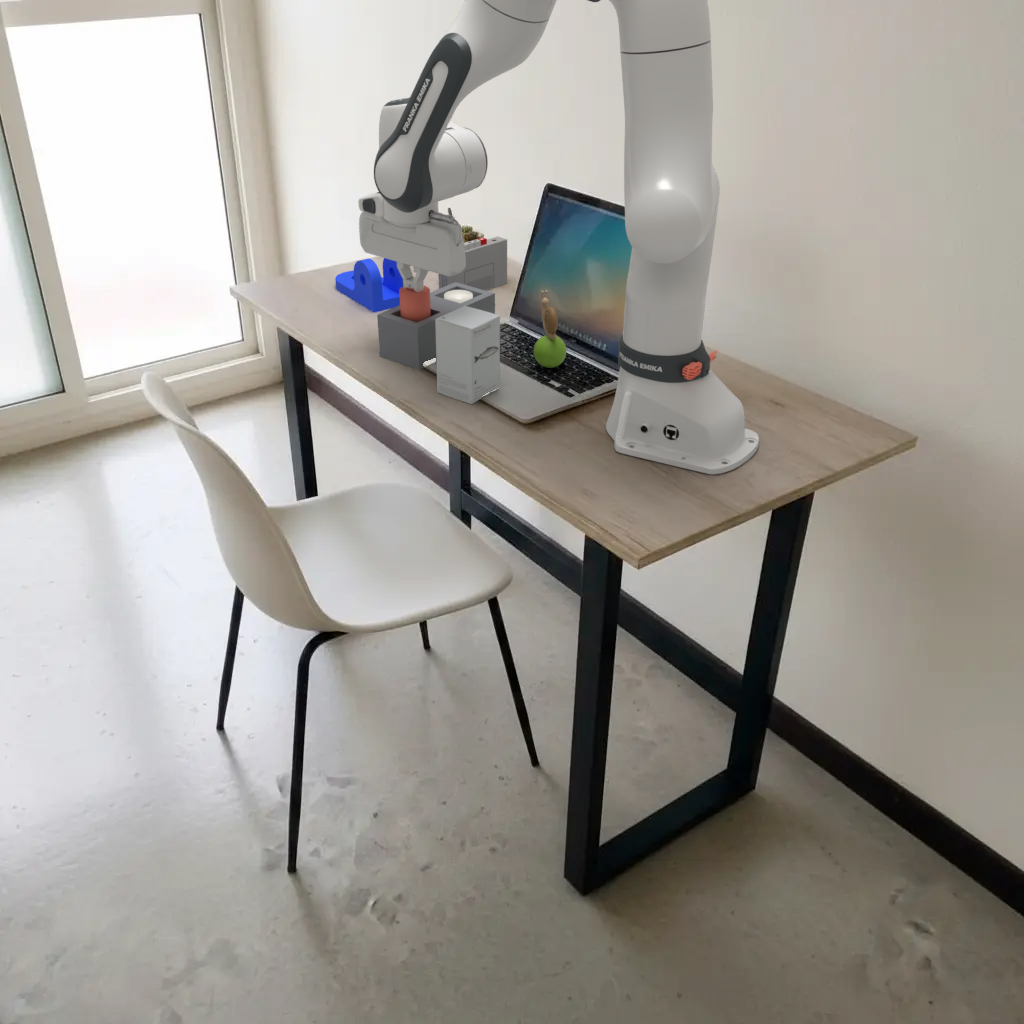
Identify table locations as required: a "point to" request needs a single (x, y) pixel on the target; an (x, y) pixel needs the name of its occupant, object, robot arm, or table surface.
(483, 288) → the cassette player
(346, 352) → the table surface
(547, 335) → the snail figurine
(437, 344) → the supplement box
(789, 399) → the table surface
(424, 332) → the block
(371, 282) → the bracket
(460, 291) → the plug
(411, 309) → the red plug
